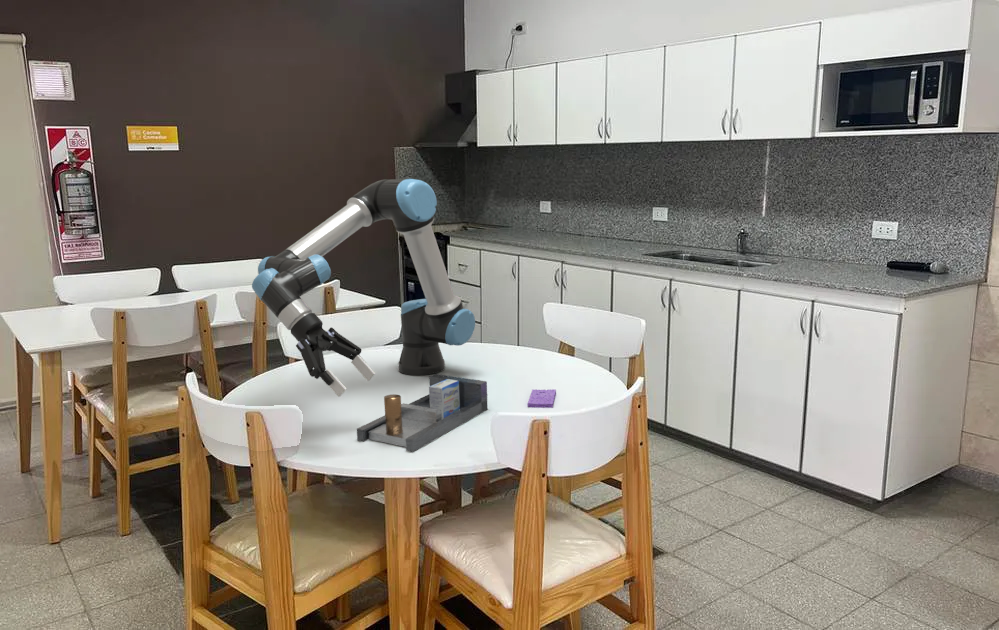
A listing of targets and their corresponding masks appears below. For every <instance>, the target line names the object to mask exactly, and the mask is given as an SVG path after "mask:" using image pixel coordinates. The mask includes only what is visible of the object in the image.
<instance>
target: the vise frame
mask: <svg viewBox="0 0 999 630" xmlns="http://www.w3.org/2000/svg"><path fill="white" fill-rule="evenodd" d="M446 379H451V380H456V381H459V399H460V410H458V411H456V412H454V413H452V414H451V415H449V416H447V417H445V418H443V419H441V420H439V421H438V422H436V423H434V424H432V425H430V426H428V427H426V428H425V429H423V430H421V431H419V432H417V433H415V434H413V435H412V436H410V437H408V438H406V447H405V448H406V449H405V451H406V452H410V453H413V452H416V451H418V450H419V449H421V448H424V446H426V445H428V444H430V443H432V442H434V441H435V440H437V439H438V438H440V437H442V436H444V435H446V434H448V433H450V432H451V431H453V430H455V429H456V428H458V427H459V426H461V425H463V424H465V423H467V422H468V421H470V420H472V419H474V418H475V417H477V416H479V415H481V414H482V413H484V412H486V411H488V410H489V409H488V384H487V383H488V381H486V380H480V379H474V378H473V379H472V378H466V377H458V376H451V375H445V374H438V373H433V374H431V375H430V376H429V377H428V383H429V385H428V388H429V387H430V386H432V385H434V384H437V383H439V382H441V381H444V380H446ZM409 404H410V405H416V406H422V407H428V408H430V398H429V393H428V394H427V395H424V396H423V397H420V398H418V399H416V400H414V401H412V402H410V403H409ZM385 423H386V421H385V414H384V415H383V416H380V417H379V418H376V419H375V420H372V421H370V422H368V423H365V424H363V425H362V426H360V427H358V428H356V436H357V437H356V438H357V439H356V440H357V441H359V442H366V441H368V440H370V439H369V431H371V430H373V429H375V428H377V427H379V426H381V425H383V424H385Z"/></svg>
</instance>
